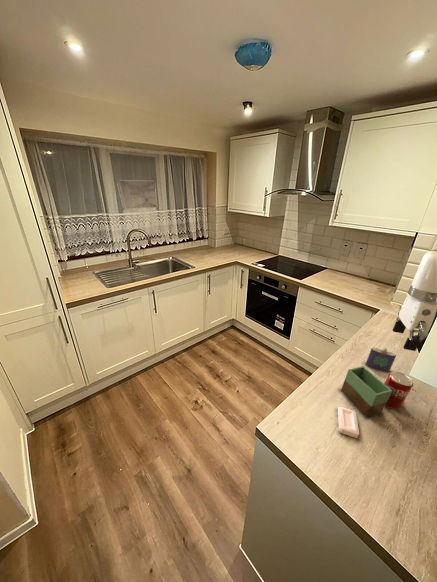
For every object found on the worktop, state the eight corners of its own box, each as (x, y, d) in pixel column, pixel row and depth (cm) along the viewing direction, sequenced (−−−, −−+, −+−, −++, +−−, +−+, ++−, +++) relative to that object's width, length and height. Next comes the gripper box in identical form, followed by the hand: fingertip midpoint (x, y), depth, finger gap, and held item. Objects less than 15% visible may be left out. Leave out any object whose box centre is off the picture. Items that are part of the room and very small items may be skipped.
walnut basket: (340, 390, 92) (344, 380, 89) (355, 386, 94) (359, 376, 91) (366, 417, 82) (371, 406, 79) (381, 412, 83) (386, 402, 81)
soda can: (377, 391, 92) (387, 368, 87) (399, 398, 89) (411, 374, 84) (379, 405, 86) (390, 381, 81) (402, 413, 83) (416, 389, 78)
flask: (388, 368, 104) (397, 349, 99) (390, 373, 101) (399, 354, 96) (365, 362, 107) (372, 343, 102) (365, 366, 104) (373, 347, 100)
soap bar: (339, 433, 76) (341, 428, 75) (337, 410, 84) (338, 405, 83) (357, 439, 74) (359, 434, 73) (353, 415, 82) (355, 410, 81)
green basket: (344, 380, 89) (348, 369, 87) (359, 376, 91) (363, 365, 89) (371, 406, 79) (376, 395, 77) (386, 402, 81) (392, 390, 79)
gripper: (456, 309, 61) (429, 360, 69) (425, 284, 76) (405, 328, 84) (422, 304, 63) (399, 354, 70) (399, 281, 78) (382, 324, 85)
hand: (403, 340), depth 77 cm, fingers open, 9 cm apart
